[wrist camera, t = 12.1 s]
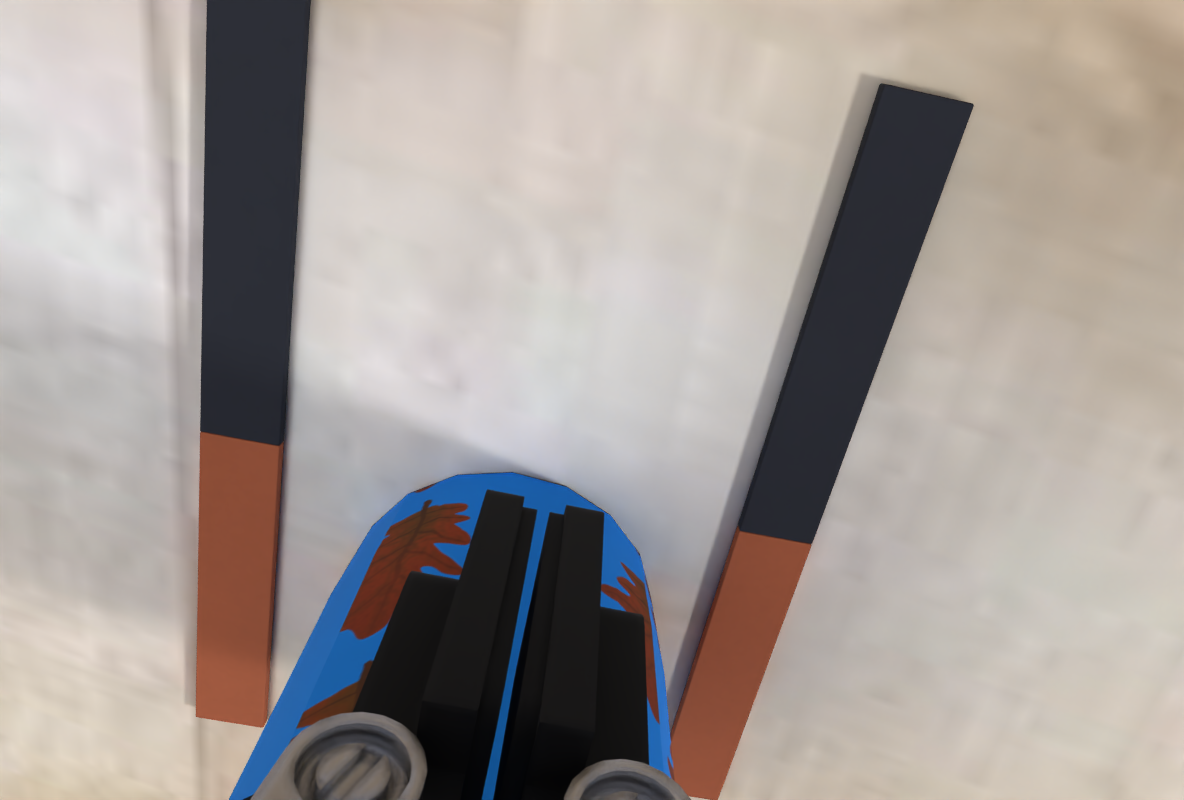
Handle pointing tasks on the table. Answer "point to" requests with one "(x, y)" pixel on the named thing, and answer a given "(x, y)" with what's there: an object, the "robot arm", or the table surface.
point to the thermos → (439, 546)
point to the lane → (261, 355)
